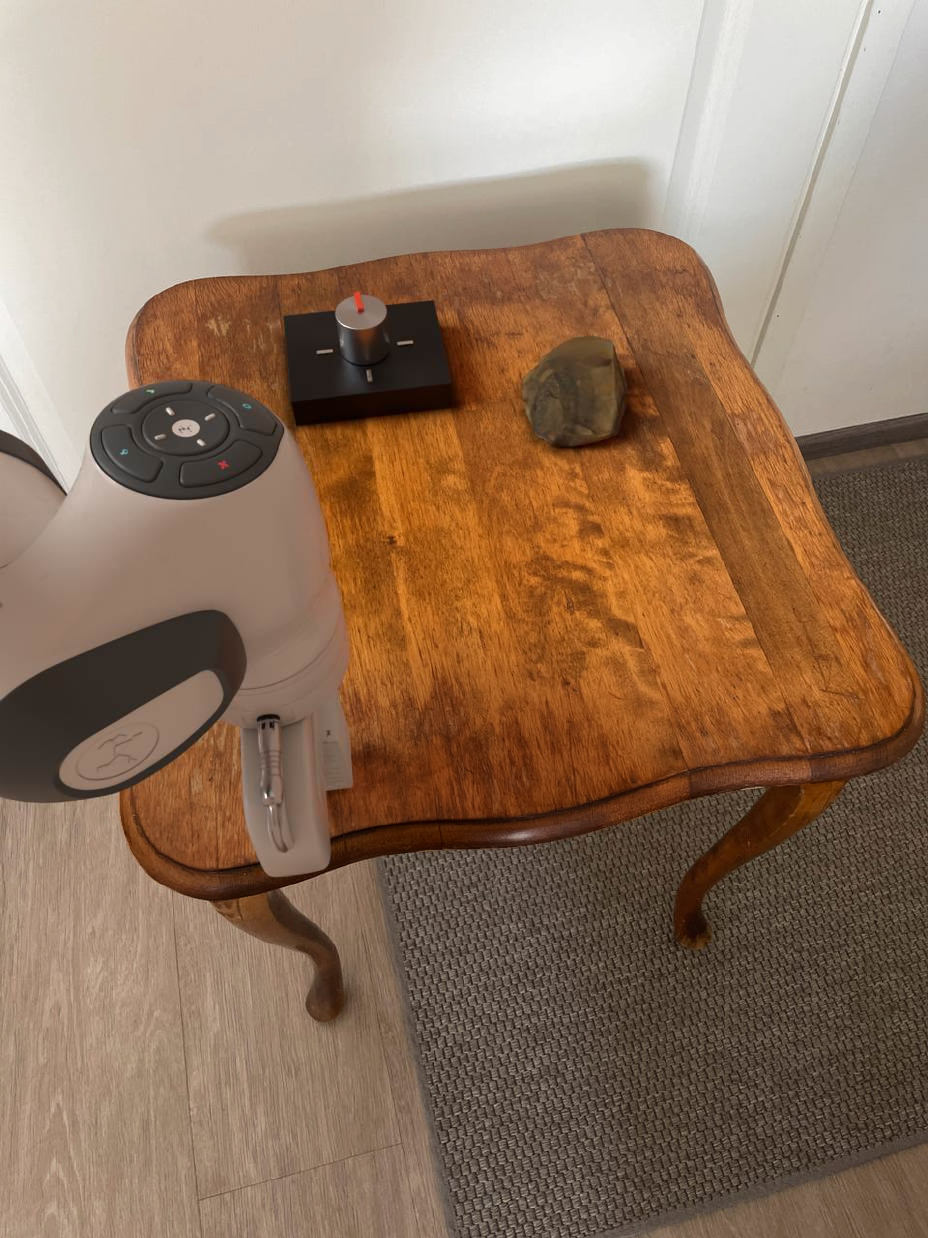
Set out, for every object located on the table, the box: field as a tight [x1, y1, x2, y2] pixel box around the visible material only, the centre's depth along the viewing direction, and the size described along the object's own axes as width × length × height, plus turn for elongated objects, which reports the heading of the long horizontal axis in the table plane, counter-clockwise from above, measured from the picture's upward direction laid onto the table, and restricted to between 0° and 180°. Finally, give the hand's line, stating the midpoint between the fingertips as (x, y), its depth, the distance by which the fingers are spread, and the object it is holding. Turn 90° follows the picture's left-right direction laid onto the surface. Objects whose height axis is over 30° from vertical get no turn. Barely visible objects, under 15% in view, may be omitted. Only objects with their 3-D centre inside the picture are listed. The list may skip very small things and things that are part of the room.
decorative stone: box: [521, 335, 628, 448], centre depth 80 cm, size 10×9×4 cm
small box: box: [319, 689, 354, 792], centre depth 59 cm, size 6×4×8 cm
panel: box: [282, 299, 453, 427], centre depth 82 cm, size 14×11×3 cm
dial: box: [335, 291, 390, 365], centre depth 79 cm, size 4×4×4 cm
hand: (302, 747), depth 59 cm, fingers closed on small box, 4 cm apart
